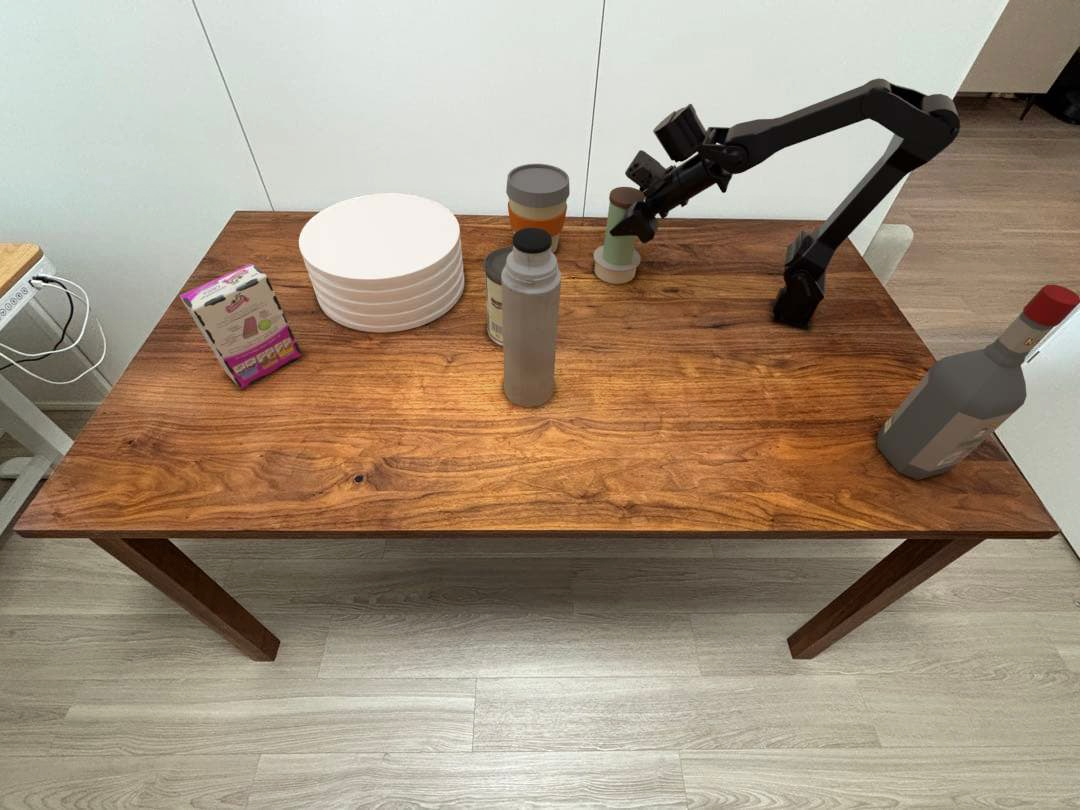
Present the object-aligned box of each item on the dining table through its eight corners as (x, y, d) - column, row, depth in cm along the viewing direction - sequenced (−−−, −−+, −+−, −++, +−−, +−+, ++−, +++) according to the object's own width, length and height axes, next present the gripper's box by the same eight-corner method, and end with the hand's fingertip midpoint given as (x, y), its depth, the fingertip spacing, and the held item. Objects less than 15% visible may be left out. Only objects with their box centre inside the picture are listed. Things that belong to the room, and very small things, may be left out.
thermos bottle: (514, 366, 91) (513, 214, 70) (559, 378, 89) (572, 226, 68) (496, 399, 86) (490, 246, 65) (543, 412, 84) (552, 260, 63)
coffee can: (548, 316, 100) (552, 250, 89) (537, 353, 93) (540, 286, 83) (495, 307, 101) (492, 241, 90) (480, 343, 94) (475, 276, 84)
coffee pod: (641, 263, 112) (644, 249, 109) (632, 289, 106) (635, 274, 103) (598, 254, 114) (600, 239, 111) (586, 279, 108) (588, 264, 105)
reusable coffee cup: (505, 230, 118) (503, 163, 107) (561, 229, 120) (565, 162, 108) (509, 263, 110) (508, 194, 99) (569, 261, 112) (575, 193, 100)
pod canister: (638, 264, 106) (650, 202, 96) (607, 267, 105) (616, 205, 95) (626, 246, 110) (637, 185, 100) (597, 249, 109) (605, 188, 99)
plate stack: (490, 299, 103) (488, 246, 94) (350, 353, 92) (332, 299, 83) (425, 231, 117) (417, 180, 109) (297, 270, 106) (277, 217, 98)
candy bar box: (287, 342, 93) (252, 261, 81) (303, 356, 91) (269, 275, 78) (225, 375, 87) (176, 293, 75) (240, 391, 85) (193, 309, 73)
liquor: (957, 471, 80) (1132, 313, 57) (906, 485, 78) (1067, 328, 55) (913, 425, 85) (1056, 265, 63) (865, 437, 83) (995, 276, 61)
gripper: (672, 120, 95) (604, 169, 105) (646, 164, 83) (573, 214, 94) (704, 173, 99) (636, 215, 110) (684, 222, 87) (611, 263, 98)
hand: (615, 225), depth 103 cm, fingers closed on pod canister, 6 cm apart
